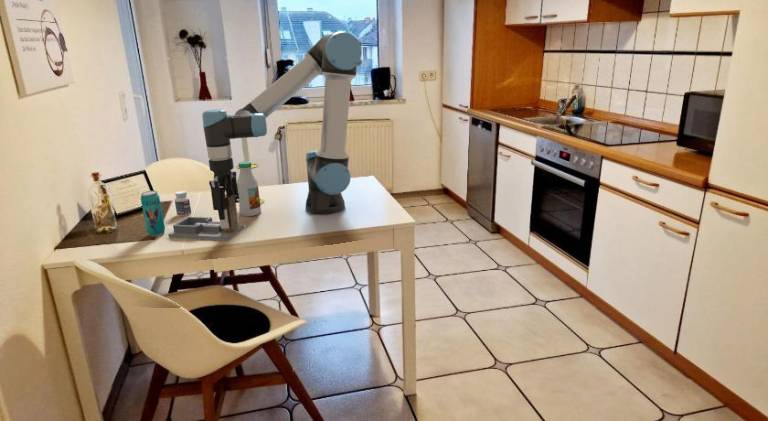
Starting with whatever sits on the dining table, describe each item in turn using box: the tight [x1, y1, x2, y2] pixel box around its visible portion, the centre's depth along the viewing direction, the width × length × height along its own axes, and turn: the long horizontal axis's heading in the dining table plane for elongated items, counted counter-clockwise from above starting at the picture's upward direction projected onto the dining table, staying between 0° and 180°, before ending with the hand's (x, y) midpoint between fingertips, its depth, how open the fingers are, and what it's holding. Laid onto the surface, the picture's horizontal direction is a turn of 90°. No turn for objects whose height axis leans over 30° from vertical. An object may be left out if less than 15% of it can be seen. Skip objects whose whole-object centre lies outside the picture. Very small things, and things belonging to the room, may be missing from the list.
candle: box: [236, 138, 265, 205], centre depth 200 cm, size 10×10×32 cm
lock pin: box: [194, 193, 239, 232], centre depth 171 cm, size 15×4×12 cm, turn 78°
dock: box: [167, 216, 245, 241], centre depth 173 cm, size 22×12×4 cm, turn 78°
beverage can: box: [140, 190, 166, 238], centre depth 171 cm, size 6×6×15 cm
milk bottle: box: [237, 161, 262, 217], centre depth 189 cm, size 8×8×20 cm
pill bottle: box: [174, 190, 192, 217], centre depth 193 cm, size 5×5×9 cm
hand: (229, 224), depth 171 cm, fingers open, 6 cm apart
